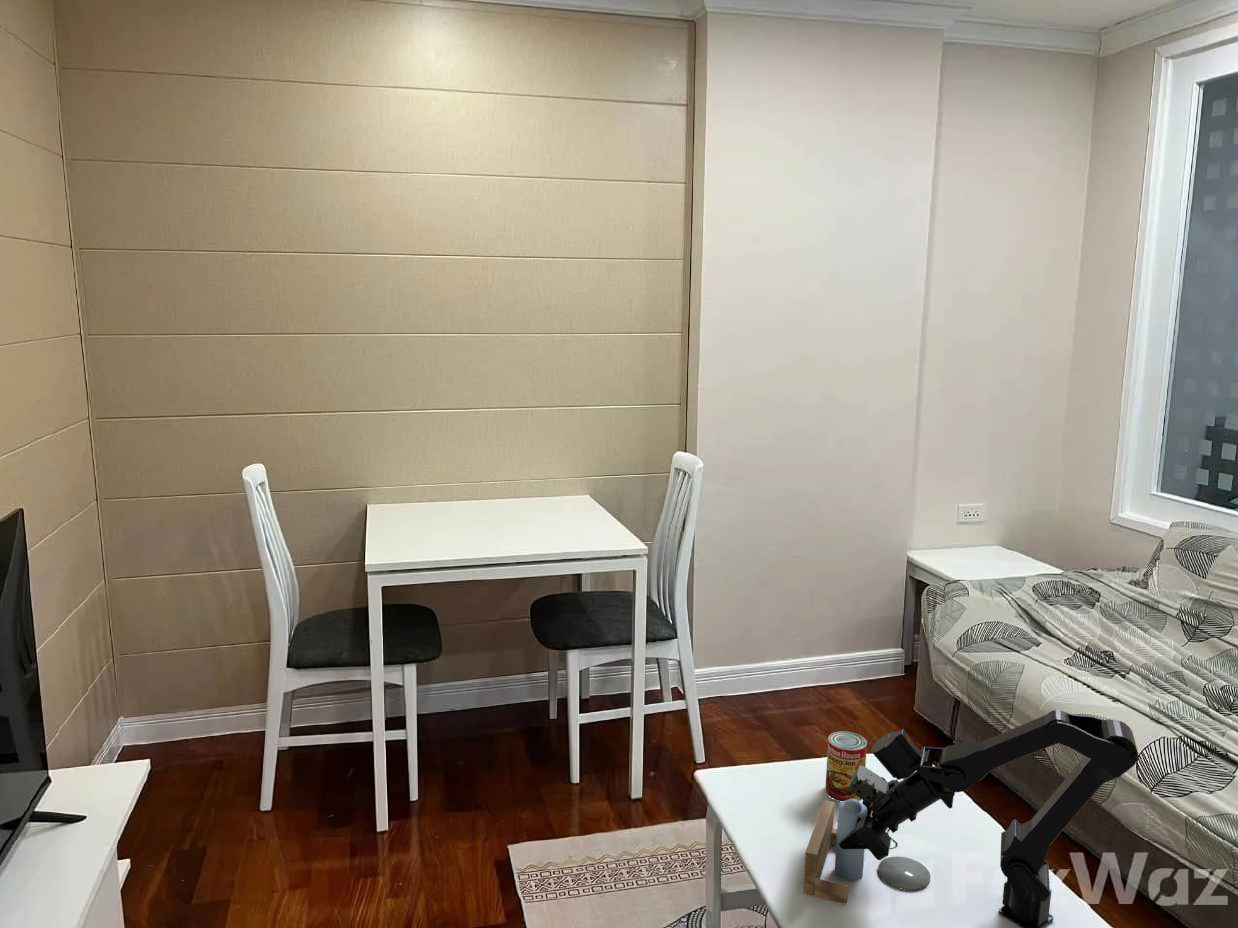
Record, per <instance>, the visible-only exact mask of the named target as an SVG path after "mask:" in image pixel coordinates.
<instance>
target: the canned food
mask: <svg viewBox="0 0 1238 928" xmlns="http://www.w3.org/2000/svg"><path fill="white" fill-rule="evenodd" d="M827 738H828V739H827V751H826V752H827V756H826V768H825V769H826V772H825V787H824V789H825V790H824V791H826V792H825V794H826V795H827V797H829V796H830V797H831V798H830V797H829V798H830V799H832V798H834V799H835V800H834V799H833V800H834V801H836V800H839V801H846V800H848V799H856V800H858V801H859V800H860V801H861V800H862V799H861V798H859V797H858V796H856V795H855V794H854V793H852V792H851V791H850V790H849V784H850V781H851V778H852V777H853V775H854V774H855V772H856V770H857V769H858V767H859V766H864V767H866V766H867V761H866V760H867V747H868V741H867V740H866V738H865V737H863V736H862V735H861V734H859V733H855V732H852V731H851V732H850V731H846V730H845V731H835V732H832V733H830V734H829V736H828V737H827ZM839 801H838V802H839ZM860 801H859V802H860Z"/></svg>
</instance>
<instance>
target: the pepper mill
mask: <svg viewBox="0 0 1238 928" xmlns="http://www.w3.org/2000/svg"><path fill="white" fill-rule="evenodd" d="M862 803H863V802H862ZM862 803H861V802H860V801H858V800H856V799H848V800H846V801H842V802H839V803H838V807H837V808H838V810H837V825H836V826H837V827H836V829H837V839H836V845H835V859H834V873H835V875H836V876H837V877H838V878H839V879H841V880H842V881H846V882H858V881H859V879H860V880H861V879H862V878H863V876H864V875H863V874H864V861H865V849H842V848H841V847H840V846H839V843H840V842H841V841H842V840H843V839H844V838H845V837H846V836H847V835H848V834H850V833H851V832H852V831H853V830H854V829H855V828H856V822H857V818H858V816H859V817H860V818H861V819H862V818H864V817H865V816H867V808H866V806H865V805H863V804H862ZM857 880H858V881H857Z"/></svg>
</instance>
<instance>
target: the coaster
mask: <svg viewBox="0 0 1238 928" xmlns="http://www.w3.org/2000/svg"><path fill="white" fill-rule="evenodd" d="M877 870H879V871H878V874H880V875H879V876H880V877H882V878H883V879H882V878H881V879H882V880H883V881H884V880H885V881H886V882H885V881H884V882H885V883H887V884H888V885H890V886H892V885H893V886H892V887H894V886H895V887H894V888H896V887H897V889H899V888H902V889H901V890H903V889H905V891H919V890H920V891H921V890H922V889H925V888H927V887H928V886H929V884H930V881H931V873H930V871H929V870H928V868H927V867H926V866H925V865H924V864H922V863H921V862H919V861H917V860H915V859H912V858H909V857H906V856H889V857H888V856H887V857H885V858H883V859H882V860H880V862H879V864H878V868H877ZM927 885H928V886H927ZM926 886H927V887H926Z"/></svg>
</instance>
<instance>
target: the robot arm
mask: <svg viewBox="0 0 1238 928" xmlns="http://www.w3.org/2000/svg"><path fill="white" fill-rule="evenodd" d="M1057 744H1059V745H1063V746H1066V747H1068V748H1070V749H1071V750H1074V751H1075V752H1077V753H1079V754H1081V755H1082V756H1081V758H1080V761H1079V762H1078V764H1077V765H1076V766H1075V767H1074V768H1073V769H1072V771H1071V772H1070V773H1069V774H1068V776H1066V778H1065V779H1064V780H1063V781H1062V782H1061V784H1060V785H1059V786H1058V787H1057V789H1056V790H1055V791H1054V792H1053V793H1052V794H1051V796H1050V797H1049V798H1048V799H1047V800H1046V801H1045V803H1044V804H1043V805H1042V806H1041V808H1040V809H1039V810H1038V811H1037V812H1036V813H1035V815H1034V816H1033V817H1032V818H1031V819H1030V820H1029V821H1026V822H1024V823H1020V822H1019V821H1018V820H1017V819H1016V818H1014V819H1013V820H1012V821H1011V823H1010V825H1009V826H1008V828H1007V829H1006V830H1005V831H1002V832H1001V833H1000V835H1001V836H1000V860H999V861H1000V863H999V865H1000V870H1001V872H1002V874H1003V875H1004V877H1006V881H1005V882H1004V884H1003V891H1002V900H1001V901H1002V905H1003V906H1001V907H1000V908H998V913H999V914H1000V915H1002V916H1003V917H1005V918H1006V919H1008V920H1010V921H1012V922H1013V923H1015V924H1017V925H1018V926H1020V927H1021V928H1043V927H1044V926H1046V925H1048V924H1049V923H1051V922H1052V921H1054V915H1053V914H1051V913H1050V909H1051V898H1052V890H1053V889H1051V887H1050V868H1049V862H1048V861H1047V859H1046V858H1047V855H1048V852H1049V850H1050V847H1051V846H1052V844H1053V842H1055V840H1056V839H1057V838H1058V837H1059V836H1060V835H1061V833H1062V832H1063V830H1065V829H1066V827H1068V825H1069V824H1070V823H1071V821H1073V820H1074V818H1075V817H1076V816H1077V815H1078V814H1079V813H1080V811H1081V810H1082V809H1083V808H1084V806H1085V805H1087V803H1088V802H1089V801H1090V799H1092V797H1093V796H1094V795H1095V794H1096V793H1097V791H1098V790H1099V789H1100V788H1101V787H1102V786H1103V785H1104V784H1106V783H1108V782H1111V781H1113V780H1116V779H1119V778H1120V777H1121V776H1123V775H1124V774H1125V773H1127V772H1128V771H1129V770H1130V769H1132V768H1133V767H1134V766H1135V765H1136V763H1137V762H1138V760H1139V752H1138V748H1137V743H1136V740H1135V737H1134V731H1133V730H1132V728H1131V727H1130V726H1129V725H1128V724H1126V723H1125V722H1123V721H1121V720H1118V719H1103V718H1101V717H1096V716H1093V715H1090V714H1089V715H1088V714H1076V713H1071V712H1067V711H1064V710H1060V709H1054V710H1051V711H1050V712H1048V713H1046V714H1045V715H1043V716H1041V717H1038V718H1035V719H1033V720H1031V721H1029V722H1025V723H1024V724H1021V725H1019V726H1017V727H1014V728H1011V729H1009V730H1006V731H1004V732H1002V733H999V734H997V735H995V736H992V737H989V738H987V739H985V740H980V741H964V742H960V743H955V744H950V745H946V746H945V747H934V746H922V747H921V750H920V749H919V747H918V746H917V745H916V744H915V743H914V742H913V740H912V739H911V738H910V736H909V735H908V733H907V732H906V731H905V730H904V728H903V729H902V728H901V729H900V730H898V731H891V732H887V733H886V734H884V735H883V736H882V737H880V738H879V739H878V740H877V741H876V742H875V743H874V745H873V746H872V747H871V749H870V750H871V751H870V752H871V753H872V754H873V755H874V757H875V758H876V759H877V760H878V761H879V763H880V764H881V765H882V766H883V768H884V769H885V770H887V772H888V773H889V774H890V775H891V777H892V778H893V779H891V780H890V781H887V780H886V778H884V777H883V776H880V775H878V774H877V773H875V772H874V771H872V770H871V769H869V768H868V767H866V766H865V767H864V766H859V767H858V769H857V770H856V772H855V774H854V775H853V777H852V778H851V781H850V784H849V790H850V791H851V792H852V793H854V794H855V795H856V796H858V797H859V798H861V800H862V804H863V805H865V806H866V808H867V816H865V817H864V818H862V819H861V818H860V817H859V816H858V818H857V822H856V828H855V829H854V830H853V831H852V832H851V833H850V834H848V835H847V836H846V837H845V838H844V839H843V840H842V841H841V842H840V843H839V846H840V847H841V848H842V849H864V850H868V851H869V852H870V853H871V855H873V857H874V858H875V859H876V860H877V861H882V860H884V859H886V858H888V856H889V853H890V850H891V849H890V848H891V842H892V840H891V838H892V837H891V836H890V835H889V833H888V834H887V830H886V828H887V827H888V829H890V830H889V831H890V832H891V833H892V834H894V833H896V832H898V831H899V825H900V824H902V823H904V822H905V821H908V820H909V821H910V822H912V823H913V821H916V819H917V816H918V814H919V813H920V812H922V811H923V810H925V809H927V808H929V807H930V806H932V805H934V804H935V803H936V802H938V801H940V800H941V801H942V802H943V803H944V804H945V806H946V807H947V808H948V809H952V808H953V807H954V806H953V804H954V797H955V795H956V793H961V792H965V791H967V790H968V789H970V788H972V787H973V786H974V785H976V784H978V783H980V782H982V780H983V779H984V778H985V777H986V776H987V775H988V774H989V773H990V772H992V771H994V770H995V769H997V768H1000V767H1002V766H1004V765H1007V764H1009V763H1010V764H1011V762H1014V761H1017V760H1019V759H1022V758H1025V757H1027V756H1029V755H1031V754H1035V753H1037V752H1039V751H1042V750H1045V749H1046V748H1049V747H1052V746H1054V745H1057ZM934 762H937V766H933V765H934ZM894 780H895V781H894ZM899 780H900V781H899ZM885 830H886V831H885Z"/></svg>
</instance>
